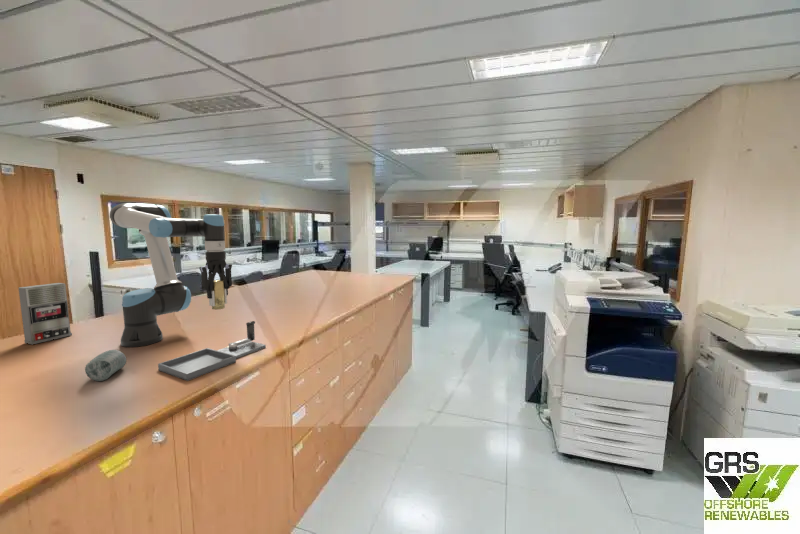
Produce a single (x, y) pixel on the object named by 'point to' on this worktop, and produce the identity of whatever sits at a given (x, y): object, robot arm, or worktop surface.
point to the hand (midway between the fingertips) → (218, 304)
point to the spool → (105, 365)
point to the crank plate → (243, 349)
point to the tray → (196, 363)
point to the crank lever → (249, 336)
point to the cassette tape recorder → (44, 312)
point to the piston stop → (218, 294)
